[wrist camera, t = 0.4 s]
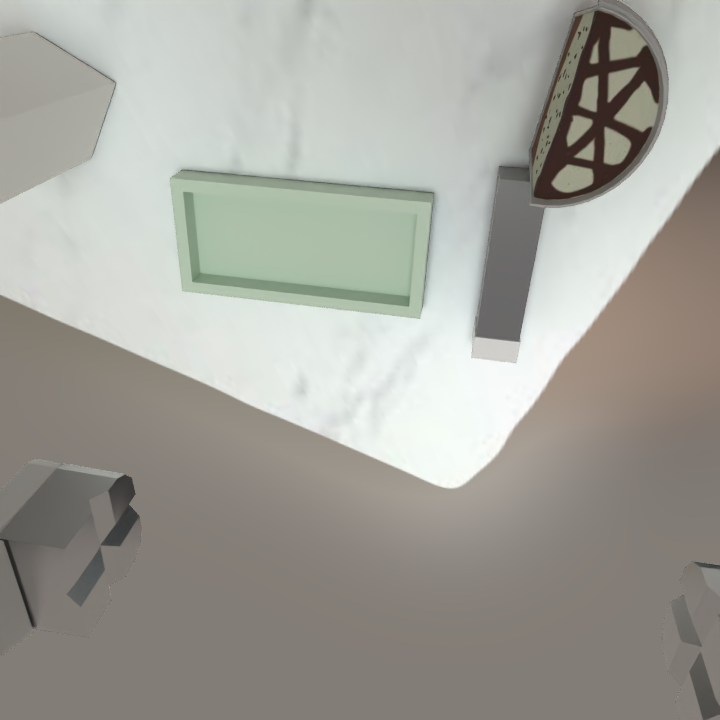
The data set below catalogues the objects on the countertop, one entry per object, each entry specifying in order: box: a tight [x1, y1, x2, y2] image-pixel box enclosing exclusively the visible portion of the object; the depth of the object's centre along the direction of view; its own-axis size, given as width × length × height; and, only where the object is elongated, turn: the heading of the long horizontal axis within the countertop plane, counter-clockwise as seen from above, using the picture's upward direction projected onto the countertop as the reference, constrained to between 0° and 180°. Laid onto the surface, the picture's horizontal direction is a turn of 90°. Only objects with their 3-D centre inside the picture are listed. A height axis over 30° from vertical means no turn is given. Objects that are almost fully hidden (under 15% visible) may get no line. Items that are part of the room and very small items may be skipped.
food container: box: [527, 0, 669, 208], centre depth 43 cm, size 12×6×10 cm, turn 169°
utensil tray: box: [170, 170, 434, 319], centre depth 55 cm, size 10×21×2 cm, turn 87°
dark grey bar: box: [472, 166, 544, 363], centre depth 53 cm, size 15×4×4 cm, turn 177°
